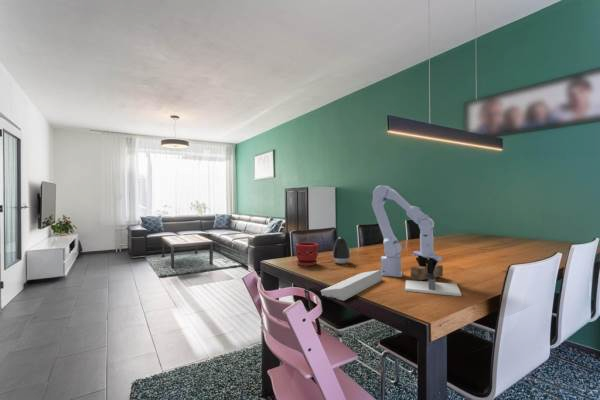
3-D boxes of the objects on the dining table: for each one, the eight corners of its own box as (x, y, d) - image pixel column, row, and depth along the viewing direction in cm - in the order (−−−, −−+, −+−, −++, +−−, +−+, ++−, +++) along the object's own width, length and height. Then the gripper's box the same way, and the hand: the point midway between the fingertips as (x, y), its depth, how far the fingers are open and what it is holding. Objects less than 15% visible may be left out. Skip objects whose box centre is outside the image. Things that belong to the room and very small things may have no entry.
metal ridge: (428, 289, 117) (428, 279, 117) (427, 282, 126) (427, 273, 126) (435, 290, 116) (435, 279, 116) (433, 283, 125) (433, 273, 125)
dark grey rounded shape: (334, 265, 166) (333, 238, 166) (331, 261, 176) (331, 235, 176) (352, 264, 166) (351, 237, 166) (348, 260, 177) (347, 235, 177)
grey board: (405, 290, 119) (405, 288, 119) (405, 282, 131) (405, 279, 131) (461, 296, 111) (461, 293, 111) (456, 286, 123) (456, 284, 123)
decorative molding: (323, 303, 114) (344, 301, 108) (320, 290, 115) (341, 288, 109) (363, 282, 141) (383, 280, 135) (361, 272, 141) (380, 270, 135)
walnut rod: (416, 280, 130) (416, 269, 130) (410, 278, 133) (410, 267, 133) (442, 276, 137) (442, 265, 137) (436, 274, 140) (436, 263, 140)
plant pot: (319, 266, 163) (319, 245, 163) (295, 267, 163) (295, 245, 163) (317, 261, 176) (317, 241, 176) (295, 262, 176) (295, 242, 176)
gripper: (446, 245, 130) (446, 276, 130) (420, 241, 143) (421, 269, 143) (434, 247, 127) (435, 278, 127) (409, 242, 140) (410, 271, 140)
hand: (427, 273), depth 135 cm, fingers closed on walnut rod, 3 cm apart
